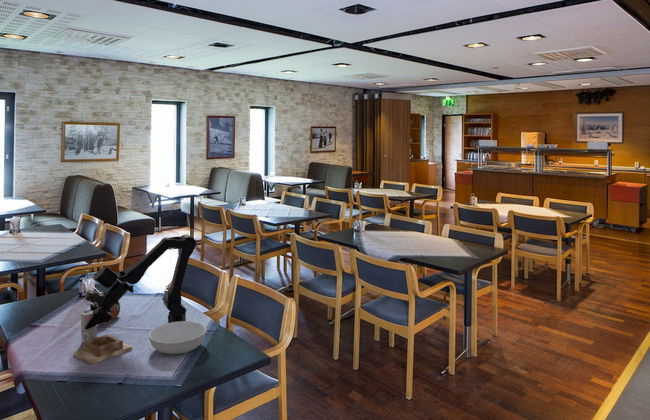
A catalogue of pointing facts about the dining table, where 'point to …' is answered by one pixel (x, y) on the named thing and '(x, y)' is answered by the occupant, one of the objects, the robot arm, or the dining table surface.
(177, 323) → the serving bowl
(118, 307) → the tin
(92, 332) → the energy drink
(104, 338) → the wooden tray
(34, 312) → the dining table surface
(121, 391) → the dining table surface
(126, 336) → the dining table surface
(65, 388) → the dining table surface
